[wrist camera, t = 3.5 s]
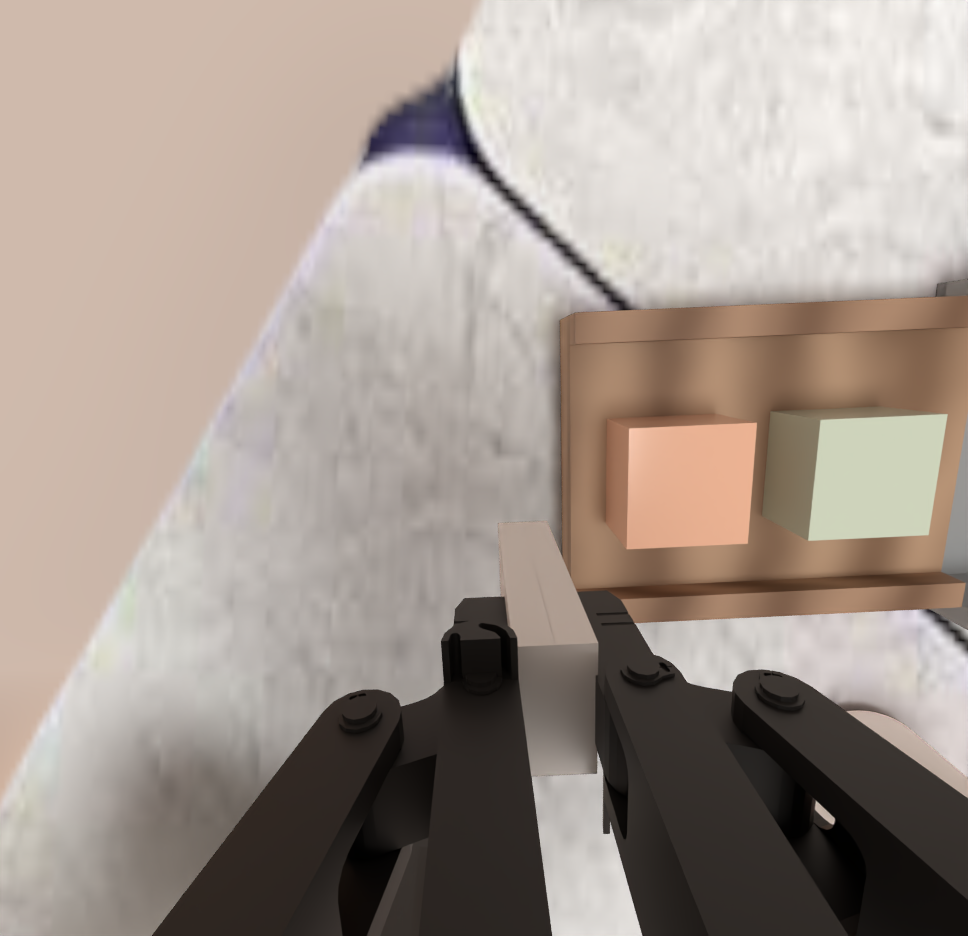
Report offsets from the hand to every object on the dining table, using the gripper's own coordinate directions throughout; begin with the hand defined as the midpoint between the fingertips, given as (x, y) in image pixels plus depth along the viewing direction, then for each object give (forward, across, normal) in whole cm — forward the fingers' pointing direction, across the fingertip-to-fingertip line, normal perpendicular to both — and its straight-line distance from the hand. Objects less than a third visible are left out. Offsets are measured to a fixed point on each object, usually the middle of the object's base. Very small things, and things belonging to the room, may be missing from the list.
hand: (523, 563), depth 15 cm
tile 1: (+13, +18, 0) cm, 22 cm away
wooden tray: (+16, +15, 0) cm, 21 cm away
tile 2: (+13, +9, 0) cm, 15 cm away
